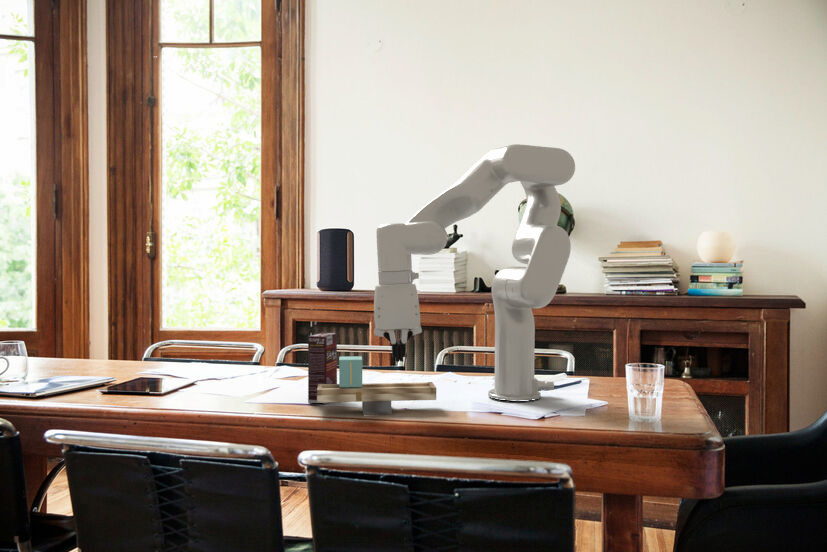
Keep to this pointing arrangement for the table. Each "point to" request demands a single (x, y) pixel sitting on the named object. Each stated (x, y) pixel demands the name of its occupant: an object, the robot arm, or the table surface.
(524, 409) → the table surface
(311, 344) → the supplement box
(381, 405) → the beam
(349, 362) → the block
